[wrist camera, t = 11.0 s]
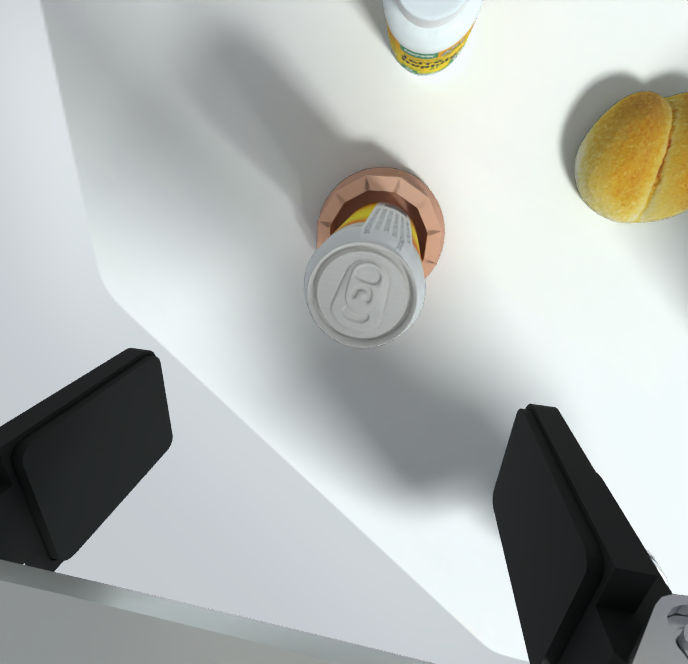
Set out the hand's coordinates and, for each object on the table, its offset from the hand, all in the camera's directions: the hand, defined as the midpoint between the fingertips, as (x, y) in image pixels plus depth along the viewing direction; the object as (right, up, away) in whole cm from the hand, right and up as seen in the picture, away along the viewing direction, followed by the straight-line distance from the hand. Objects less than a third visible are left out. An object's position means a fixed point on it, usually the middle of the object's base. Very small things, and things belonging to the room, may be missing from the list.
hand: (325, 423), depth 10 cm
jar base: (+4, +11, +22) cm, 25 cm away
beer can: (+4, +10, +21) cm, 24 cm away
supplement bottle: (+6, +23, +16) cm, 29 cm away
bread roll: (+22, +15, +17) cm, 32 cm away
